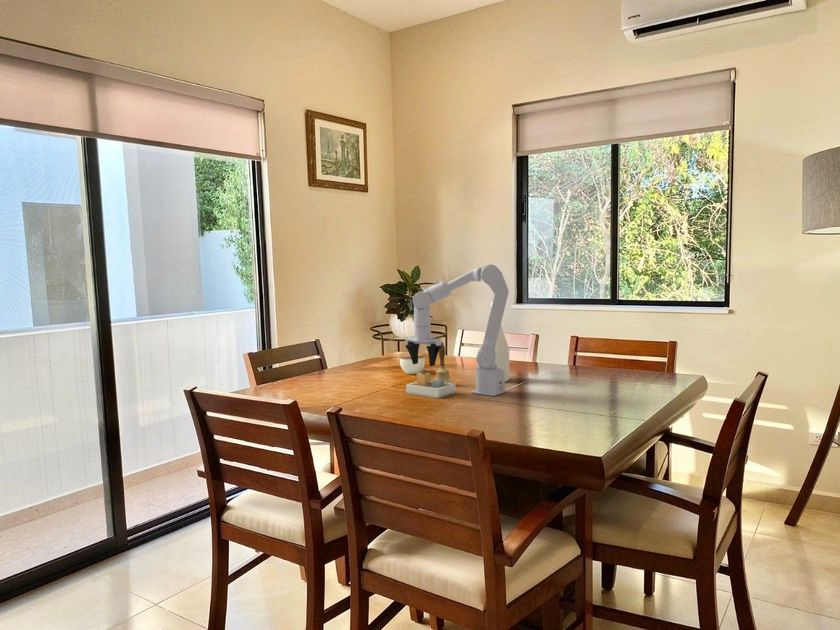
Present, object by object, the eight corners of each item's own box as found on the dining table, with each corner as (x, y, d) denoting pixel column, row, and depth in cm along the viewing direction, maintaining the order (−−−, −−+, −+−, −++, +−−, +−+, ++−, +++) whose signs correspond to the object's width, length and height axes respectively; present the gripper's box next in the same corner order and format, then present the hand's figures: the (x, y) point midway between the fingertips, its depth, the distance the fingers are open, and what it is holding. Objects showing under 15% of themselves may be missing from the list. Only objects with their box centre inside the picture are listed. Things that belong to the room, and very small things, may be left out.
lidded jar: (395, 372, 255) (394, 350, 254) (418, 369, 259) (418, 347, 258) (406, 376, 245) (405, 353, 244) (430, 373, 249) (429, 350, 249)
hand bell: (427, 386, 225) (426, 343, 223) (437, 382, 232) (436, 340, 231) (448, 387, 221) (447, 344, 219) (457, 383, 228) (456, 341, 227)
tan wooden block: (430, 389, 214) (430, 369, 214) (425, 391, 211) (424, 371, 211) (422, 388, 216) (422, 368, 216) (416, 390, 214) (416, 370, 213)
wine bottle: (509, 377, 236) (507, 300, 233) (510, 382, 226) (508, 302, 224) (484, 378, 237) (482, 300, 234) (484, 382, 227) (482, 302, 225)
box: (455, 392, 212) (455, 378, 212) (438, 398, 204) (438, 383, 204) (423, 388, 221) (423, 374, 220) (406, 393, 213) (405, 379, 212)
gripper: (399, 326, 213) (400, 364, 215) (432, 328, 204) (433, 368, 206) (411, 324, 219) (413, 361, 220) (444, 326, 210) (445, 365, 211)
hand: (423, 364), depth 213 cm, fingers open, 7 cm apart
